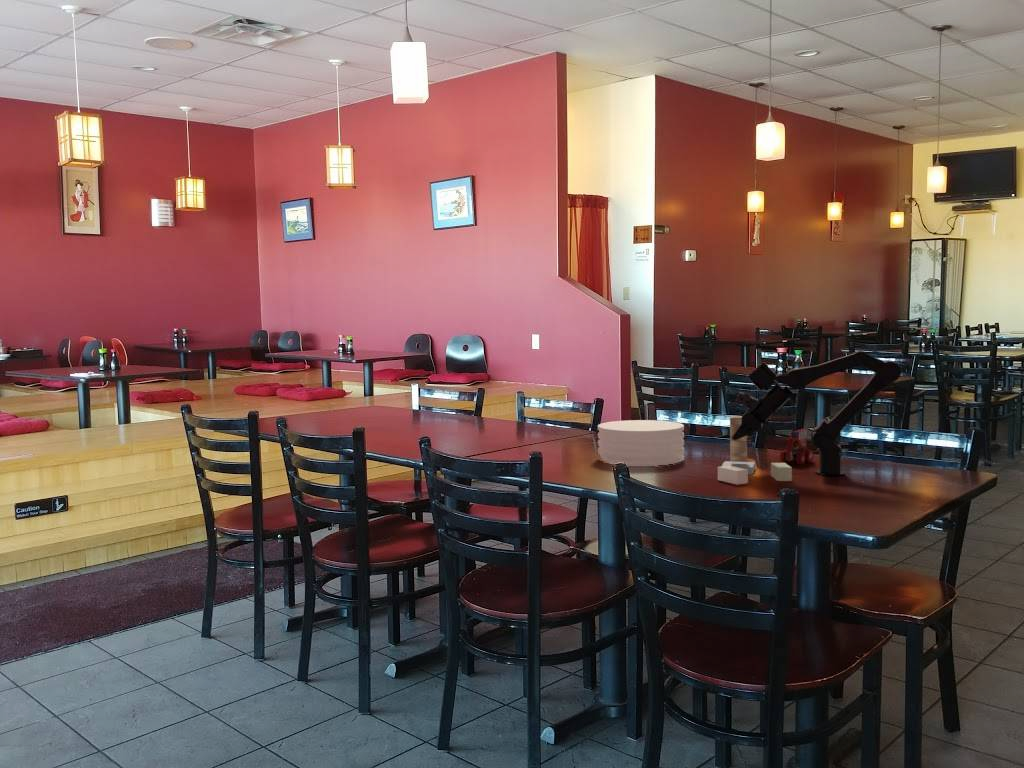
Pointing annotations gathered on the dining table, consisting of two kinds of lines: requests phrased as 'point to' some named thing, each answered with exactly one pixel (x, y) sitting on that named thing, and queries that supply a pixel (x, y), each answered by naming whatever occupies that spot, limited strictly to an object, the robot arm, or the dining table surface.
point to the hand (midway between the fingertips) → (733, 437)
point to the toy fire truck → (797, 448)
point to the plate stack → (641, 442)
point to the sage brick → (781, 472)
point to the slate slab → (741, 465)
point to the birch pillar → (737, 441)
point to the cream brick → (733, 475)
